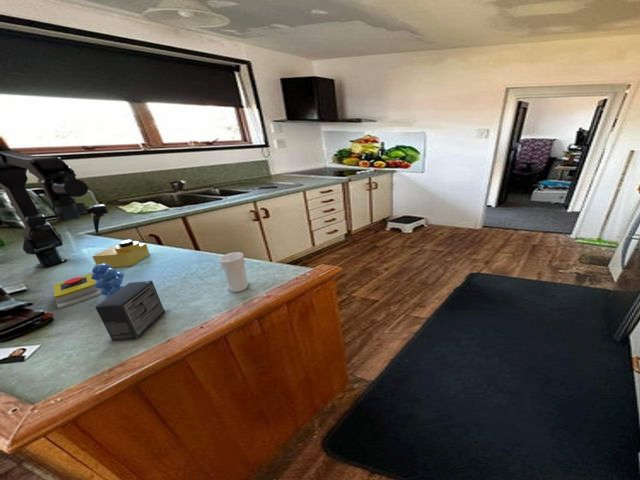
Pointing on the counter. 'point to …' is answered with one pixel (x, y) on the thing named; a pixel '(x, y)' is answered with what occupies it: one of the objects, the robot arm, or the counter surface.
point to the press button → (126, 243)
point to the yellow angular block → (122, 255)
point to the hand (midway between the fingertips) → (79, 237)
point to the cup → (234, 271)
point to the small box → (130, 310)
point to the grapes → (107, 279)
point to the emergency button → (75, 290)
